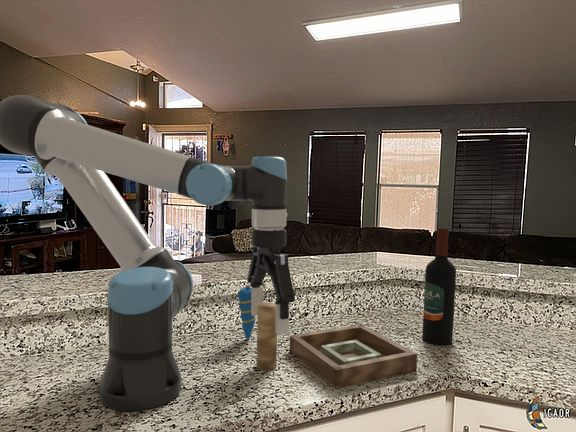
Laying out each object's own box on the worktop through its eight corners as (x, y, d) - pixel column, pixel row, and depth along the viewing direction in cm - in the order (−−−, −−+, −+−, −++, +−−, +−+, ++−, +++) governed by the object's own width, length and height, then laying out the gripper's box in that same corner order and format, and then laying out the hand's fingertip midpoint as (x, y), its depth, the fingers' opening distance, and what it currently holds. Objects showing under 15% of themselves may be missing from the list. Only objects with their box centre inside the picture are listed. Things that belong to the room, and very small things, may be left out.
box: (336, 389, 90) (336, 370, 89) (289, 351, 108) (289, 335, 108) (416, 371, 99) (417, 353, 99) (360, 339, 118) (361, 324, 117)
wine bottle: (456, 346, 115) (463, 230, 112) (426, 345, 115) (432, 229, 112) (446, 335, 122) (452, 226, 119) (418, 334, 122) (424, 225, 120)
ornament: (248, 344, 112) (248, 286, 111) (233, 339, 115) (233, 282, 114) (261, 339, 116) (262, 282, 115) (246, 334, 119) (247, 279, 118)
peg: (261, 372, 97) (262, 309, 96) (253, 364, 101) (254, 303, 100) (279, 368, 99) (280, 306, 98) (271, 361, 103) (272, 301, 101)
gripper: (312, 234, 88) (311, 339, 89) (262, 222, 110) (262, 306, 112) (277, 236, 84) (277, 345, 86) (233, 223, 107) (234, 310, 108)
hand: (268, 323), depth 99 cm, fingers open, 13 cm apart
